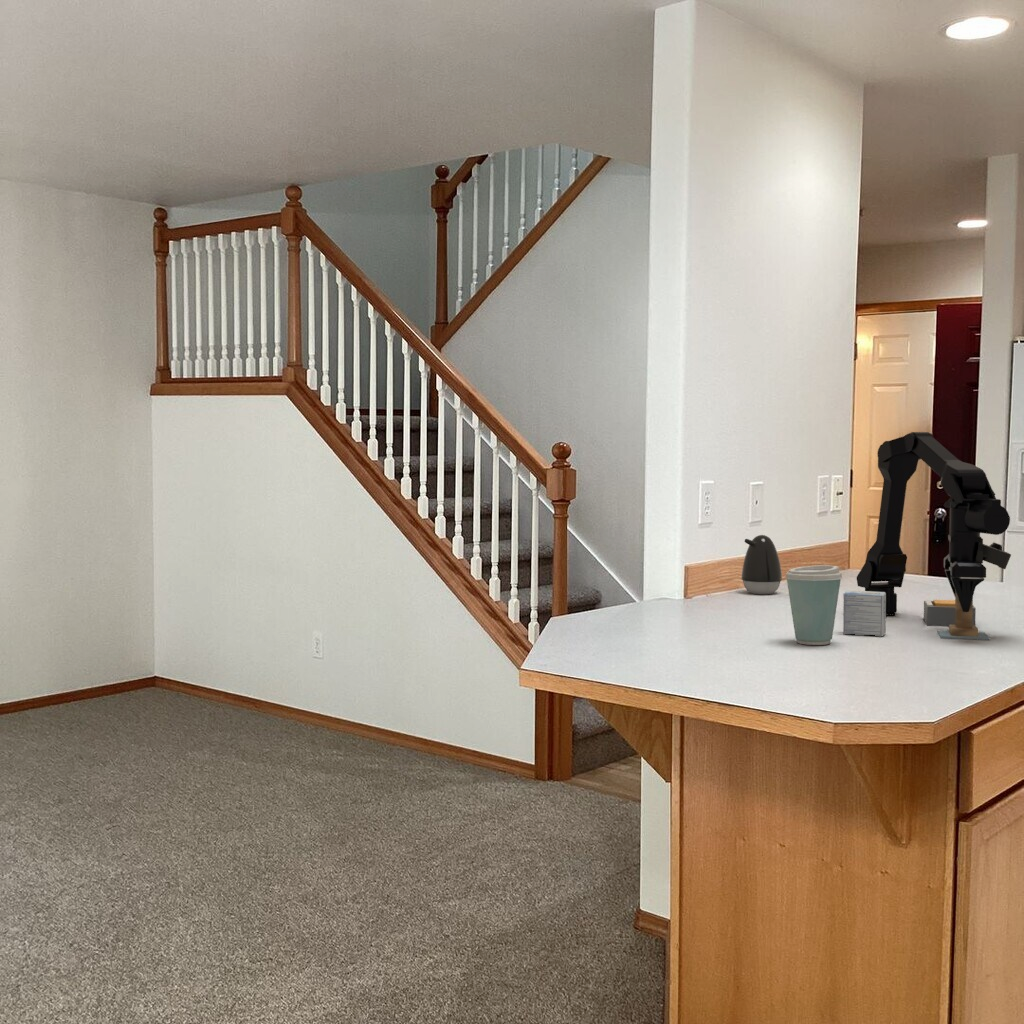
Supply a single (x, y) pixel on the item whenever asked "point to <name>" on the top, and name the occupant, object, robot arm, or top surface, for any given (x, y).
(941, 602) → the button
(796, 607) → the disposable coffee cup
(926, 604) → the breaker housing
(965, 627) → the press tool
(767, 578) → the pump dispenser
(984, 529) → the robot arm
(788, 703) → the top surface
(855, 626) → the medicine box
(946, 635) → the rubber mat
